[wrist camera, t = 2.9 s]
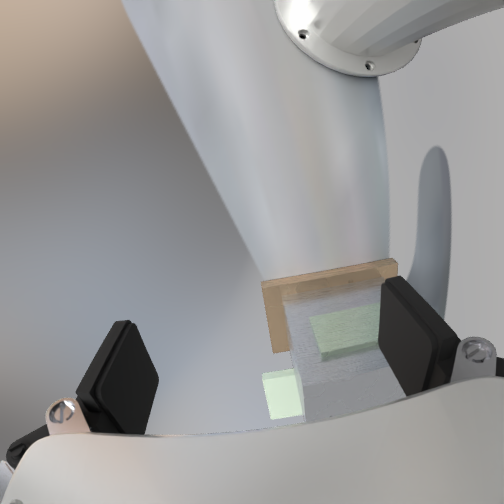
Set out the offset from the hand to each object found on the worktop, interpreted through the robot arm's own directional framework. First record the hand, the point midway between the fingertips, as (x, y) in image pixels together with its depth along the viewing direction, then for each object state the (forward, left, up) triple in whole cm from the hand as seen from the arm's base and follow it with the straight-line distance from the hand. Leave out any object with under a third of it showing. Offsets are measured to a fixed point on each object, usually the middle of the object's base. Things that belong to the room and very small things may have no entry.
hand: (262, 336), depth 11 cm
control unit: (+8, +6, -14) cm, 18 cm away
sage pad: (+19, +2, -14) cm, 24 cm away
